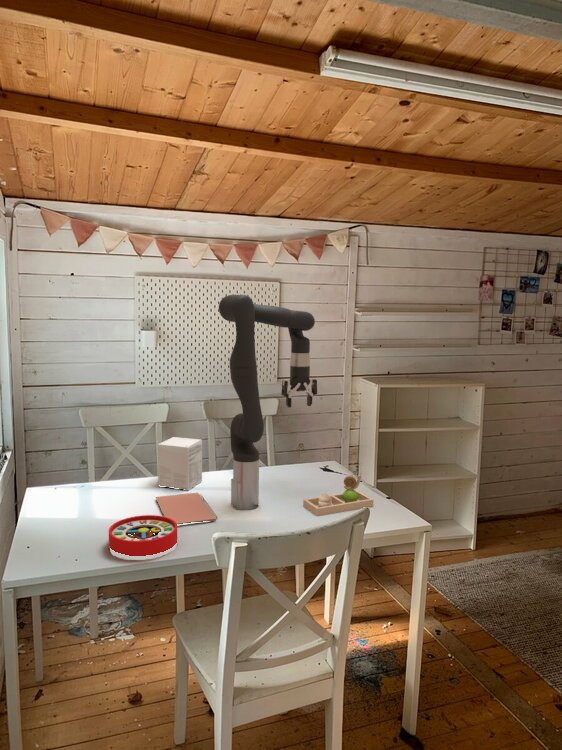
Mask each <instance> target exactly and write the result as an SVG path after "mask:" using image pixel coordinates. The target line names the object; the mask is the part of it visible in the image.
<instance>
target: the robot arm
mask: <svg viewBox="0 0 562 750" xmlns="http://www.w3.org/2000/svg"><path fill="white" fill-rule="evenodd" d="M218 312H219V315H220V316H221V317H222V319H223V320H225V321H227V322H231V323H234V324H235V332H236V333H235V334H236V335H235V337H236V338H235V343H234V345H233V349H232V351H231V354H230V358H229V370H230V371H229V372H230V381H231V383H232V386H233V388H234V391H235V392H236V394H237V397H238V398H239V401H240V404H241V409H242V413H238V414H236V415H235V416H234V417H233V419H232V420H231V424H230V432H229V433H230V448H231V449H230V451H231V453H232V456H233V460H232V461H233V462H232V463H233V468H232V469H233V470H232V471H233V472H232V474H233V477H232V478H231V479H230V487H231V488H230V504H231V506H232V507H233V508H234V509H236V510H241V511H243V510H244V511H245V510H246V511H247V510H248V511H249V510H253V509H257V508H258V507H259V506H260V505H259V502H260V496H259V495H260V452H259V449H257V447H256V446H255V444H254V443H257V442H259V441H260V440H261V439H262V437H263V435H264V431H265V426H264V425H265V424H264V419H263V414H262V413H263V412H262V406H261V400H260V391H259V383H258V381H259V380H258V366H257V358H256V356H257V355H256V343H255V326H256V325H255V323H260V324H264V325H269V326H273V327H279V328H287V329H288V334H289V337H290V338H289V339H290V343H291V344H290V352H291V353H290V359H289V367H290V368H289V380H285V379H282V381H281V383H282V384H281V394H280V395H281V396H283V397H285V406H286V407H287V408H289V409H290V408H292V397H293V395H294V394H295V393H296V392H305V393H306V394H307V396H306V406H307V407H311V406H312V405H313V396H316V395H318V379H316V378H311V379H310V377H311V376H310V375H311V355H310V353H311V352H310V349H311V347H310V346H311V344H310V343H311V341H310V338H309V337H306V336H305V335H304V333H303V332H307V331H310V330H312V329H313V327H314V326H315V324H316V323H315V321H316V320H315V317H314V315H313V314H312V313H310V312H308V311H303V310H295V309H289V308H285V307H281V306H275V305H266V304H258V303H254V301H253V299H252V298H251V297H250V296H249V295H247V294H229V295H226V296H224V297H222V298H221V300H220V301H219V305H218ZM289 385H290V387H289ZM309 385H311V387H310V386H309ZM288 387H289V388H288Z"/></svg>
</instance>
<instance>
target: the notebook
mask: <svg viewBox="0 0 562 750" xmlns="http://www.w3.org/2000/svg"><path fill="white" fill-rule="evenodd" d="M154 498H155V499H156V500H157V501H156V503H157V502H158V503H157V505H158V504H159V505H158V507H159V506H160V507H159V509H160V508H161V510H162V512H163V514H164V517H168V518H170V519H172V520H174V521H175V522H176V523H177V524H183V523H191V522H203V521H217V519H218V516H217V514H216V513H215V511H214V510H213V509H212V507H211V506H210V504H209V503H208V502H207V500H206V499H205V497H204V496H203V494H200V493H199V492H190V493H183V494H182V493H180V494H179V493H178V494H172V495H170V494H169V495H162V496H155V497H154ZM203 499H204V500H203ZM206 503H207V504H206ZM209 508H210V509H209ZM161 510H160V511H161ZM162 512H161V513H162ZM163 514H162V515H163Z"/></svg>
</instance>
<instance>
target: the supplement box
mask: <svg viewBox="0 0 562 750" xmlns="http://www.w3.org/2000/svg"><path fill="white" fill-rule="evenodd" d="M157 471H158V473H157V475H158V477H157V478H158V480H157V482H158V485H160V486H166V487H174V488H179V489H185V490H188V491H190V490H191V489H193V488H194V487H196V486H197V485H198V483H199V484H200V483H202V482H203V439H199V438H198V439H197V438H189V437H188V438H187V437H178V436H177V437H176V436H172V437H170V438H169V439H166V440H164V441H162V442H159V443H158V444H157ZM201 481H202V482H201ZM196 484H197V485H196ZM158 485H157V486H158ZM195 485H196V486H195ZM193 486H194V487H193ZM192 487H193V488H192ZM190 488H191V489H190ZM189 489H190V490H189Z"/></svg>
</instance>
